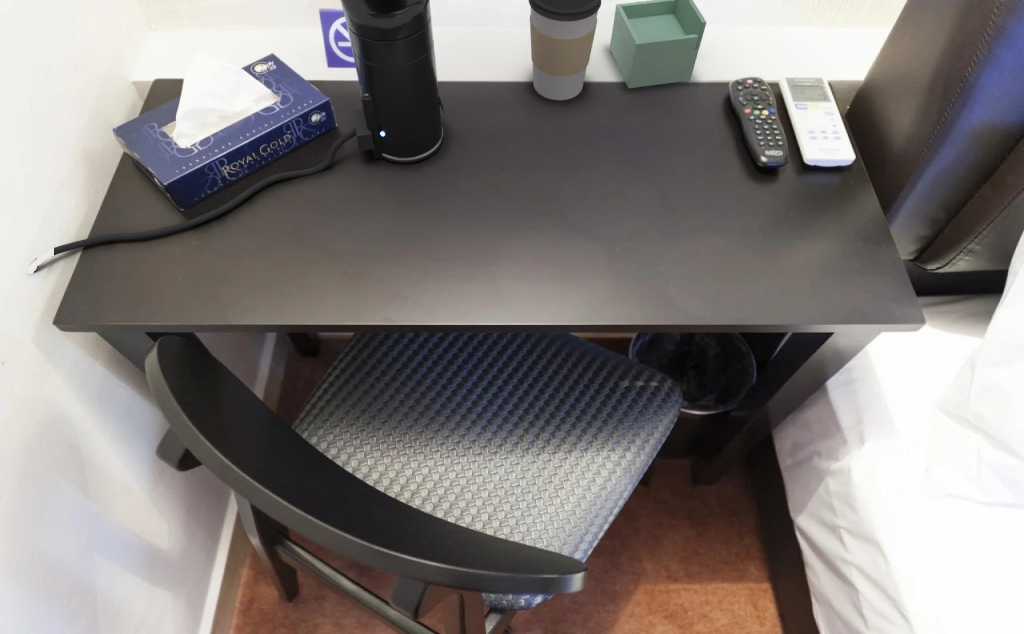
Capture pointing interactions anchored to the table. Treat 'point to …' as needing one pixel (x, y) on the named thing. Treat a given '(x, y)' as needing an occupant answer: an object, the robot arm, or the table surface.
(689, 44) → the mint green open box
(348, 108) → the table surface
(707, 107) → the table surface
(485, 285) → the table surface
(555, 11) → the coffee cup
